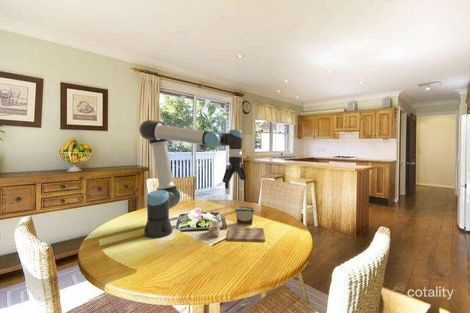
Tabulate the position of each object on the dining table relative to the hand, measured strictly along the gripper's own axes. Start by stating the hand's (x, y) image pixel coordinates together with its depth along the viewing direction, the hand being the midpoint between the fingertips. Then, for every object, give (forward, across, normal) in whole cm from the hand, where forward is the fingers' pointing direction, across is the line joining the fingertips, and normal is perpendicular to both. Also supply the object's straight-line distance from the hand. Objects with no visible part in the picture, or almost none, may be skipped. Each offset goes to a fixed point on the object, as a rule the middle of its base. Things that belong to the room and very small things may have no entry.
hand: (234, 192), depth 141 cm
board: (+22, -3, -11) cm, 25 cm away
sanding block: (+23, -13, +4) cm, 26 cm away
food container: (+22, +13, +1) cm, 26 cm away
